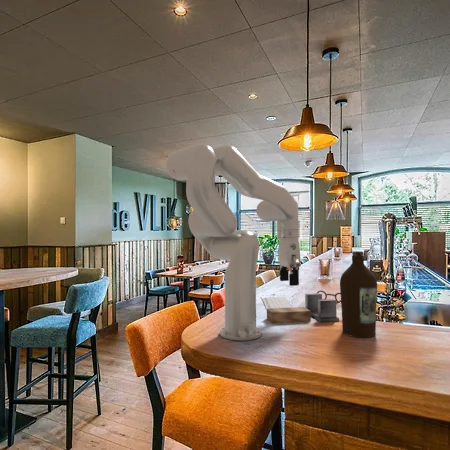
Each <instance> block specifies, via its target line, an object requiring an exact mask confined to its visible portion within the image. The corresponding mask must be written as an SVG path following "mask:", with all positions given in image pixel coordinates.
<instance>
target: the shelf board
mask: <svg viewBox="0 0 450 450" xmlns="http://www.w3.org/2000/svg"><path fill="white" fill-rule="evenodd" d="M311 318H312V317H311V311H310V310H308V309H306V308H305V306H298V307H297V306H296V307H295V306H294V307H293V306H292V307H291V308H269V309H266V320H268V322H270V323H271V324H286V323H287V324H289V323H291V324H292V323H307V322H311V321H312V319H311Z"/></svg>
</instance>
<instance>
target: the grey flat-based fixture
mask: <svg viewBox="0 0 450 450" xmlns="http://www.w3.org/2000/svg"><path fill="white" fill-rule="evenodd" d="M316 293H317V292H316ZM316 293H305V295H304V300H305V302H304V303H305V304H304V307H305V308H306V309H308V310H310V311H311V318H313V319H315V320H316V321H318V322H320V323H327V322H329V321H331V322H340V317H338V315H337V312H338V311H337V304H336V302H337V301H336V300H335V299H334V298H330V299H329V298H328V299H325V298H324V299H325V300H322V299H323V293H321V292H319V293H317V294H316Z"/></svg>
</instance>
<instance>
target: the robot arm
mask: <svg viewBox="0 0 450 450" xmlns="http://www.w3.org/2000/svg"><path fill="white" fill-rule="evenodd" d="M165 169H166V172H167V174H168V175H169V176H170V178H173V179H174V180H177V181H186V184H185V193H186V198H187V199H186V200H187V202H188V203H189V206H190V207H191V208H192V211H191V212H190V213H189V215H188V228H189V230H190V232H191V234H192V235H193V237H195V239H196V240H197V242H198V243H199V244H200V245H201V246H202V247H203V248H204V249H205V250H206V252H207V253H208V254H209V255H210V256H211V257H213V258H215V259H217V260H220V261H229V262H228V264H227V267H226V269H225V272H224V326H223V327H221V328H220V329H219V335H220V337H222V338H223V339H227V340H230V341H240V342H241V341H252V340H256V339H259V338H260V337H261V336H262V330H261V328H259V327H257V262H258V258H259V257H258V256H259V251H260V242H259V239H258V237H257V235H255V234H254V233H253V232H251V231H249V230H246V229H245V230H243V229H238V230H237V228H238V220H237V217H236V215H235V213H234V212H233V210H232V209H231V208H230V207H229V205H228V204H227V202H226V201H225V200H224V198H223V197H222V196H221V194H220V192H219V191H218V189H217V188H216V185H215V177H219V176H222V178H223V179H224V180H226V182H228V184H230V185H231V186H232V187H233V189H234V190H235V191H237V192H238V193H239V195H242V196H245V197H247V198H250V199H257V200H261V201H259V203H258V204H257V206H256V210H255V211H256V215H257V217H258V218H259V219H260V220H262V221H265V222H276V231H277V233H276V235H277V240H279V241H278V265H279V280H280V281H281V282H289V286H291V287H294V286H299V285H300V278H299V277H300V267H301V265H302V262H301V261H302V260H301V248H300V242H299V239H300V237H299V236H300V231H299V228H300V227H299V226H300V225H299V204H298V201H297V200H296V199H295V198H294V196H293V195H292V194H291V193H290V192H289V190H288V189H287V188H286V187H284V185H281V184H280V183H279V182H276V181H274V180H272V179H270V178H268V177H265V176H263V175H261V174H259V173H258V172H257V171H256V170H255V168H254V167H253V166H252V165H251V164H250V163H249V162H248V161H247V159H246V158H245V157H244V156H243V155H242V154H241V152H239V151H238V150H237V148H236V147H234V146H232V145H229V144H226V145H225V144H223V145H219V146H216V147H213V148H212V147H211V146H210V145H208V144H205V143H197V144H196V143H195V144H192V145H189V146H186V147H184V148H181V149H178V150H175V151H173V152H172V153H170V154H169V155H168V156H167V158H166V160H165Z"/></svg>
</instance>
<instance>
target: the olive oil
mask: <svg viewBox="0 0 450 450" xmlns="http://www.w3.org/2000/svg"><path fill="white" fill-rule="evenodd" d="M351 253H352V256H351V264H350V266H349V267H347V269H345V271H344V272H343V273H342V274H341V277H340V279H339V290H340V292H339V293H341V294H340V300H341V303H340V305H341V322H342V323H341V326H342V327H341V328H342V329H341V330H342V333H343V334H345V335H347V336H350V337H354V338H365V339H367V338H374V337H375V336H376V332H377V329H376V327H377V321H378V315H377V302H378V301H377V300H378V299H377V298H378V281H377V278H376V276H375V275H374V273H373V272H372V271H371V270H370V269H369V268H368V267H367V266H366V265H365V259H364V258H365V256H364V251H360V250H359V251H358V250H356V251H354V250H353V251H352V252H351Z"/></svg>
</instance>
